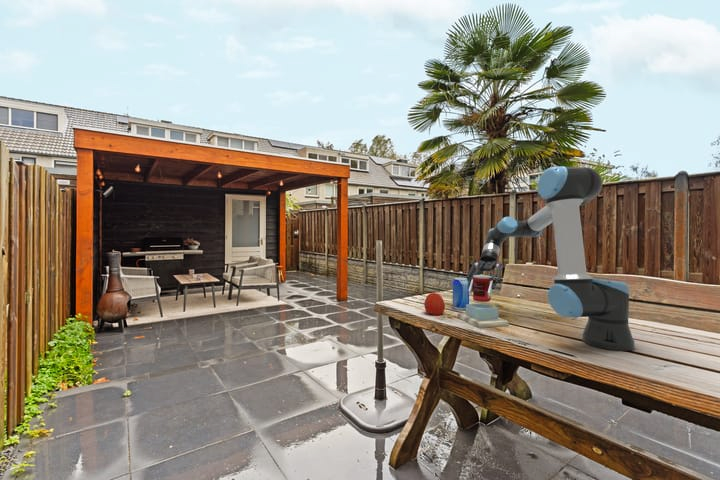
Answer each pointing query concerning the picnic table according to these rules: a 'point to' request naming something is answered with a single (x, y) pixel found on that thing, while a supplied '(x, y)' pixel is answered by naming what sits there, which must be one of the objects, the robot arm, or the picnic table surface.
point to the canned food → (481, 288)
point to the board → (483, 321)
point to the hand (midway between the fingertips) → (479, 293)
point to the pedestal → (482, 311)
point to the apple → (434, 304)
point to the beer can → (460, 293)
